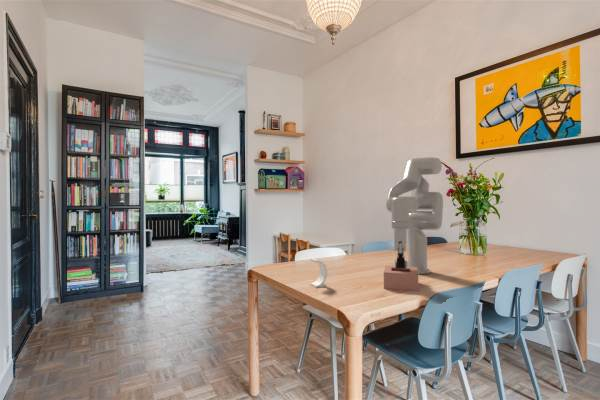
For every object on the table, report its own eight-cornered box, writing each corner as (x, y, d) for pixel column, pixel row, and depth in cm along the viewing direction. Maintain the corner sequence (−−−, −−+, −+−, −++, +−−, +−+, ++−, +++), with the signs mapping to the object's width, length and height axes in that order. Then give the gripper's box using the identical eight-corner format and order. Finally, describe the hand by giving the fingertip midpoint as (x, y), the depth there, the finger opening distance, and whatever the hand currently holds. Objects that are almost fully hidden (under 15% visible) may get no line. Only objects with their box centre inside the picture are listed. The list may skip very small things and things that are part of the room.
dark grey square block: (392, 267, 145) (392, 260, 145) (399, 265, 148) (399, 259, 148) (402, 268, 141) (401, 262, 141) (408, 267, 144) (408, 260, 144)
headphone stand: (310, 285, 146) (310, 258, 146) (321, 283, 149) (321, 257, 149) (316, 287, 142) (315, 260, 142) (327, 285, 145) (327, 259, 145)
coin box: (383, 288, 140) (383, 272, 140) (385, 280, 153) (385, 265, 153) (418, 291, 136) (418, 274, 136) (416, 282, 149) (416, 267, 149)
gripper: (392, 223, 153) (392, 261, 153) (391, 226, 137) (391, 269, 137) (409, 223, 151) (409, 262, 151) (409, 227, 135) (410, 270, 135)
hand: (400, 265), depth 144 cm, fingers closed on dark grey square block, 4 cm apart
